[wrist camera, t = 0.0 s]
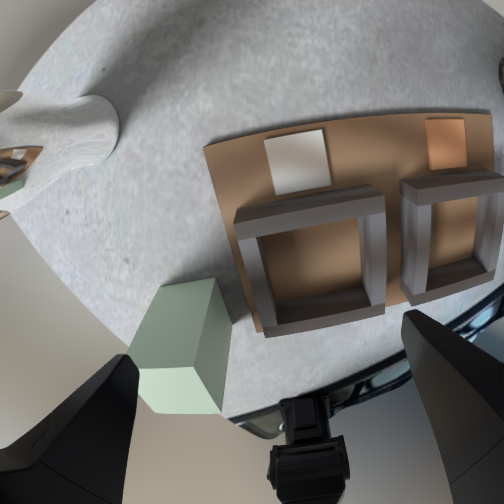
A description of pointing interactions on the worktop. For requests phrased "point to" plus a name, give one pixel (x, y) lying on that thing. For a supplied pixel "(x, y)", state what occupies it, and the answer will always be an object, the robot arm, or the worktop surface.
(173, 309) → the sage peg
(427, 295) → the socket board
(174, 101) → the worktop surface
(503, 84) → the pill bottle
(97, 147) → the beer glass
